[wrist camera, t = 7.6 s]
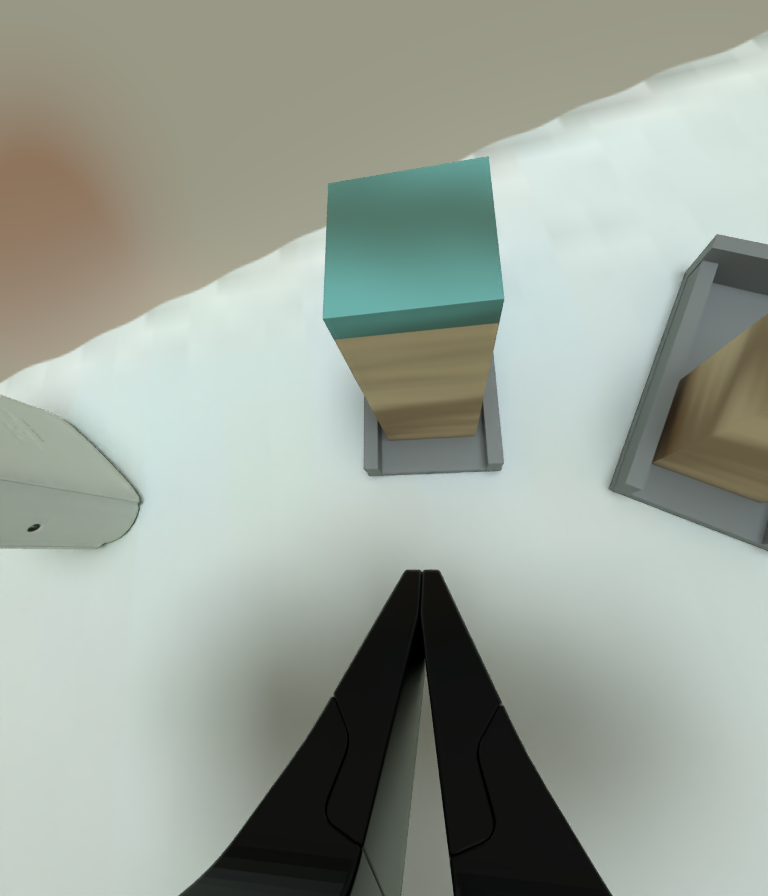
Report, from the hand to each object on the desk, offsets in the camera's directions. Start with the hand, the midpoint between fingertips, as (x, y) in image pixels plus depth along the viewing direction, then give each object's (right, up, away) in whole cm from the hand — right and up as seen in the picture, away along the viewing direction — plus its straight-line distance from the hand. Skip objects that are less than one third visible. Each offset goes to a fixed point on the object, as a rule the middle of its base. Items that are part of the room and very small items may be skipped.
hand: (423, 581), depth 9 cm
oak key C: (+1, +6, +11) cm, 13 cm away
